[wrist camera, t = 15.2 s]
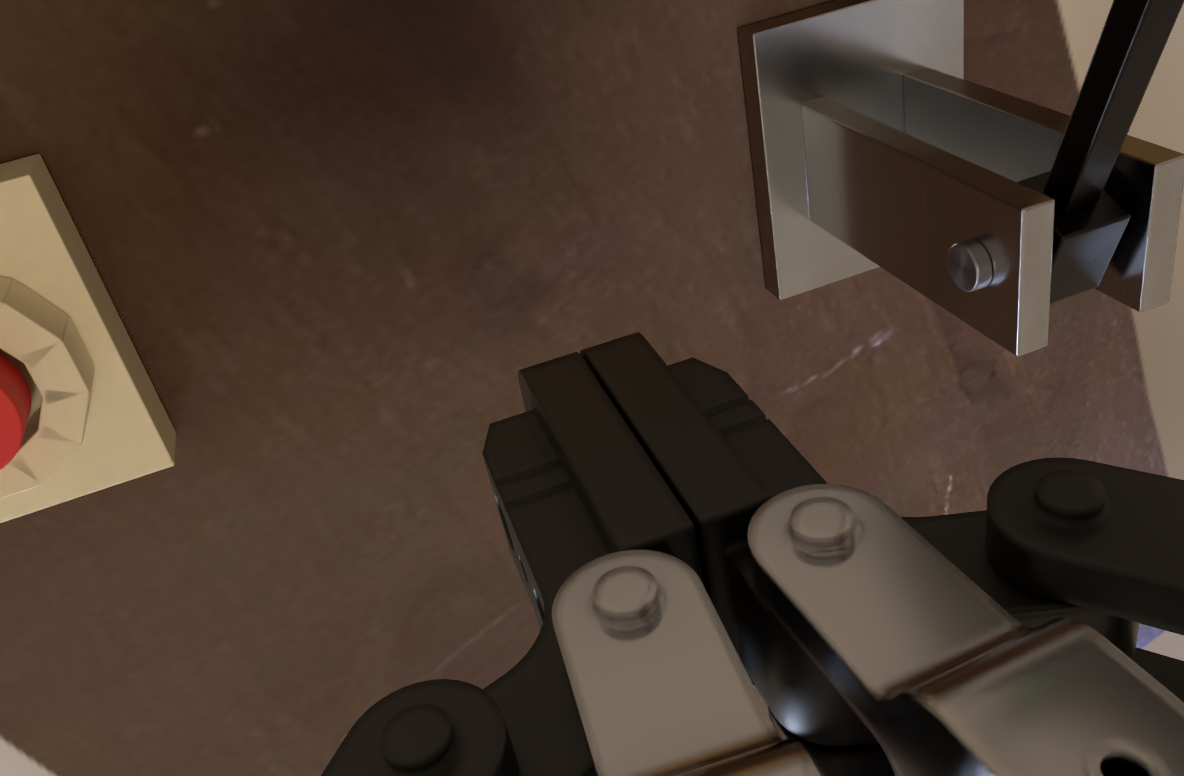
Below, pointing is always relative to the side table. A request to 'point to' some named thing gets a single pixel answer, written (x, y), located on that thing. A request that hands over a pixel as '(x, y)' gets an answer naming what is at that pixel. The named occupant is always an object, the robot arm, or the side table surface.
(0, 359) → the button
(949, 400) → the side table surface
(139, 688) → the side table surface
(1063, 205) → the lever
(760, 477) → the robot arm
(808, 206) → the bracket
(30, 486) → the control block
